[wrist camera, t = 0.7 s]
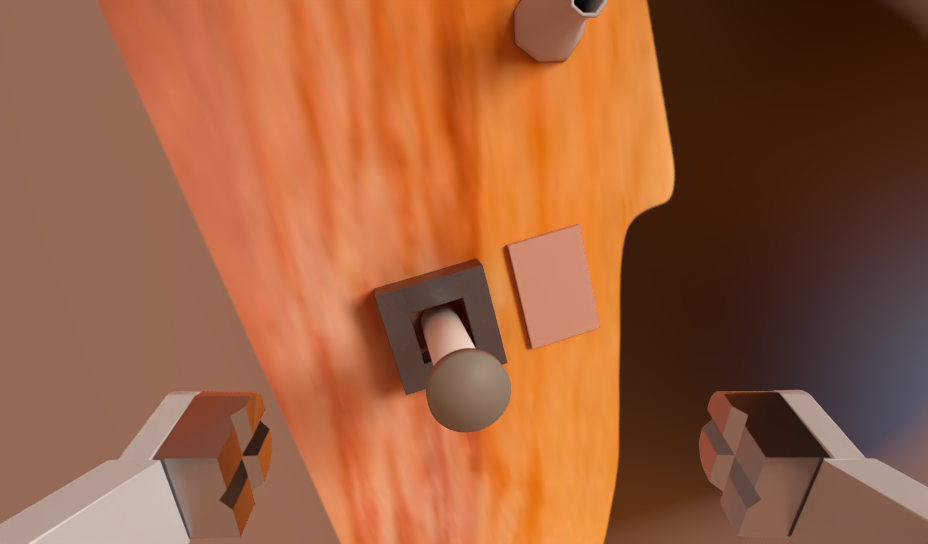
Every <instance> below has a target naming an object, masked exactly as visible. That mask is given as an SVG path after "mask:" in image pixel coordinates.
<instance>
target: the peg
mask: <svg viewBox="0 0 928 544" xmlns="http://www.w3.org/2000/svg"><path fill="white" fill-rule="evenodd" d="M421 327H422V330H423V333H424V337H425V340H426V343H427V346H428V350H429V353H430V356H431V360H432V363H433V366H434V367H433V368H432V370H431V371H430V373H429V376H428V378H427V382H426V396H427V401H428V405H429V408H430V411H431V413H432V415H433V416H434V418H435V419H436V420H437V421H438V422H439V423H440V424H441V425H443V426H444V427H446V428H448V429H450V430H453V431H457V432H474V431H478V430H481V429H484V428H486V427H488V426H490V425H491V424H493V423H494V422H495V421H496V420H497V419H499V417H500V416H501V415H502V414H503V412H504V411H505V409H506V407H507V406H508V403H509V400H510V395H511V384H510V380H509V377H508V375H507V373H506V371H505V369H504V368H503V366H502V364H501V363H500V362H499V360H498V359H497V358H496V357H494V356H493V355H492V354H490V353H488V352H486V351H484V350H481V349H476V348H475V347H474V345H473V343H472V341H471V339H470V337H469V335H468V334H467V332H466V330H465V328H464V326H463V324H462V322H461V321H460V319H459V317H458V315H457V313H456V311H455V310H454V309H453V308H452V307H451V306H449V305H446V304H440V305H437V306H434V307H430V308H427V309H426V310H425V312H424V313H423V315H422V318H421Z"/></svg>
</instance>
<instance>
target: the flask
mask: <svg viewBox="0 0 928 544" xmlns="http://www.w3.org/2000/svg"><path fill="white" fill-rule="evenodd" d="M606 3H607V0H521V1H520V3H519V4H518V6H517V7H516V9H515V11H514V27H515V44H516V45H517V46H519V47H520V48H521V49H522V50H524V51H525V52H526V53H528V54H529V55H530V56H531V57H533V58H534V59H535V60H536V61H538V62H550V61H566V60H567V59H568V57H569V56H570V54H571V53H572V51H573V50H574V48H575V46H576V45H577V43H578V42H579V40H580V39H581V37H582V36H583V32H584V27H585V23H586V20H587V18H597V17H598V15H599V14H600V12H601V11H602V9H603V8H604V6H605V5H606Z"/></svg>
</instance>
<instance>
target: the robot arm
mask: <svg viewBox="0 0 928 544" xmlns="http://www.w3.org/2000/svg"><path fill="white" fill-rule="evenodd" d="M708 411H709V412H710V414H711V416H712V418H713V419H712V420H711V421H710V422H709V423H708V424H706V425H705V426H704V427H703V428H702V432H701V437H700V441H699V446H700V458H701V462H702V465H703V469H704V471H705V473H706V475H707V477H708V479H709V481H710V482H711V483H712V484H714V485H715V486H716V487H718V488H719V489H721V490H722V491H723V496H722V499H721V502H720V503H721V505H722V507H723V509H724V511H725V513H726V515H727V516H728V518H729V521H730V522H731V524H732V526H733V528H734V530H735V532H736V534H737V536H738V537H763V538H764V537H765V538H766V537H767V538H790V540H789V541H790V542H791V543H792V544H928V487H926V486H924V485H922V484H921V483H919V482H917V481H915V480H913V479H912V478H910V477H908V476H906V475H904V474H902V473H900V472H899V471H897V470H895V469H893V468H891V467H890V466H888V465H886V464H884V463H882V462H880V461H879V460H877V459H866V458H865V457H864V456H863V455H862V453H861V452H860V451H859V450H858V449H857V448H856V447H855V446H854V444H853V443H852V442H851V441H850V440H849V439H848V438H847V436H846V435H845V434H844V433H843V432H842V431H841V430H840V428H839V427H838V426H837V425H836V424H835V423H834V422H833V421H832V419H831V418H830V417H829V416H828V415H827V414H826V413H825V411H824V410H823V409H822V408H821V407H820V406H819V404H818V403H817V402H816V401H815V400H814V399H813V398H812V396H811V395H810V394H808V393H806V392H804V391H802V390H784V391H783V390H779V391H771V392H770V391H755V392H754V391H750V392H749V391H748V392H747V391H745V392H715V393H714V394H713V396H712V397H711V399H710V402H709V406H708ZM264 412H265V408H264V403H263V400H262V396H261V395H259V394H257V393H252V392H250V393H249V392H205V391H203V392H181V391H180V392H179V391H175V392H173V393H171V394H169V395H167V396H166V397H165V398H164V400H163V401H162V402H161V404H160V405H159V406H158V408H157V409H156V410H155V412H154V413H153V414H152V415H151V417H150V418H149V420H148V421H147V422H146V423H145V425H144V426H143V427H142V429H141V430H140V431H139V433H138V434H137V435H136V437H135V438H134V439H133V441H132V442H131V443H130V444H129V446H128V447H127V448H126V450H125V451H124V453H123V454H122V455H121V457H120V458H119V459H118V460H108V461H106V462H105V463H103V464H101V465H99V466H98V467H96V468H95V469H93V470H91V471H89V472H88V473H86V474H84V475H83V476H81V477H79V478H78V479H76V480H74V481H73V482H71V483H69V484H67V485H66V486H64V487H62V488H61V489H59V490H57V491H56V492H54V493H52V494H51V495H49V496H47V497H46V498H44V499H42V500H40V501H39V502H37V503H35V504H34V505H32V506H31V507H29V508H27V509H25V510H23V511H22V512H20V513H18V514H17V515H15V516H13V517H12V518H10V519H9V520H7V521H5V522H3V523H2V524H0V544H188V543H189V542H190V540H189V539H198V538H199V539H200V538H201V539H202V538H234V537H241V535H242V533H243V531H244V528H245V526H246V524H247V521H248V519H249V516H250V514H251V512H252V510H253V507H254V505H255V502H254V497H253V493H252V491H253V490H254V489H256V488H257V487H258V486H259V485H261V484H262V483H263V482H264V481H265V478H266V476H267V473H268V470H269V467H270V462H271V456H272V438H271V433H270V429H269V428H268V427H267V426H266V425H265V424H263V422H261V421H260V420H261V418H262V416H263V414H264Z"/></svg>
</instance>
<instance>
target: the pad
mask: <svg viewBox="0 0 928 544" xmlns="http://www.w3.org/2000/svg"><path fill="white" fill-rule="evenodd" d="M507 247H508V252H509V256H510V260H511V264H512V268H513V273H514V277H515V281H516V285H517V289H518V294H519V298H520V302H521V306H522V310H523V315H524V319H525V323H526V327H527V331H528V336H529V340H530V344H531V347H532V348H533V349H534V348H537V347H540V346H543V345H546V344H550V343H553V342H556V341H559V340H562V339H565V338H569V337H572V336H575V335H578V334H581V333H584V332H587V331H591V330H594V329H597V328H600V325H599V320H598V315H597V310H596V305H595V299H594V294H593V289H592V284H591V279H590V274H589V269H588V264H587V259H586V254H585V249H584V244H583V239H582V234H581V229H580V225H579V224H576V225H573V226H569V227H566V228H563V229H559V230H556V231H552V232H549V233H546V234H542V235H539V236H535V237H532V238H529V239H525V240H522V241H518V242H515V243H512V244H508V245H507Z"/></svg>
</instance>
